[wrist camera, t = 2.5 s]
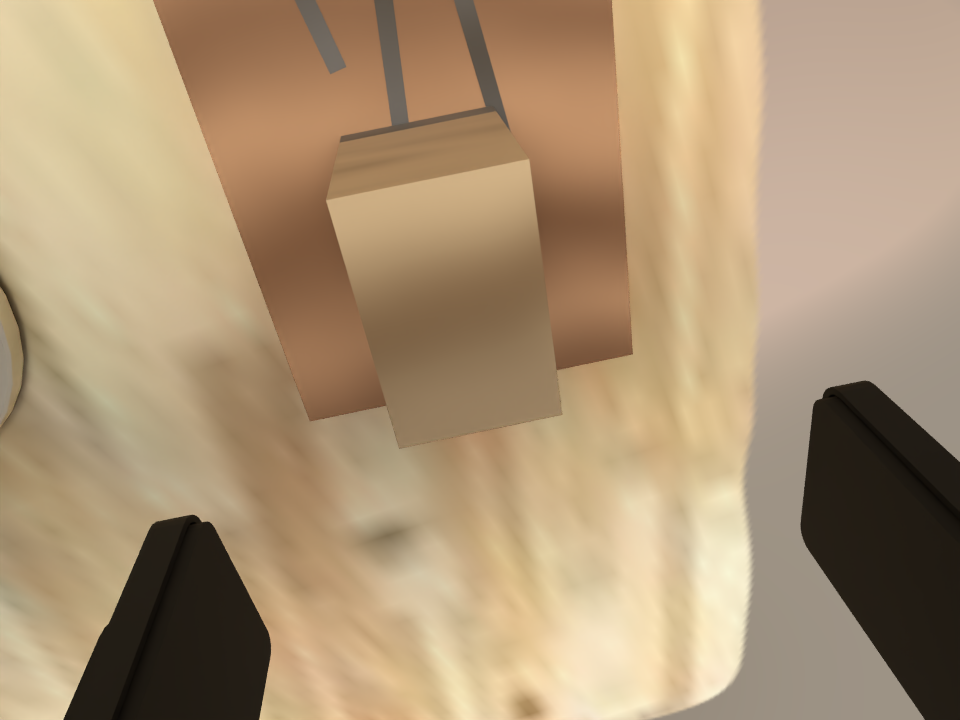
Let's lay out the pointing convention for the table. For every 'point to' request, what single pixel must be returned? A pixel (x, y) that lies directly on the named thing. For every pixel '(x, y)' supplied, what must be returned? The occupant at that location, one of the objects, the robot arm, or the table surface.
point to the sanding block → (447, 273)
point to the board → (392, 101)
